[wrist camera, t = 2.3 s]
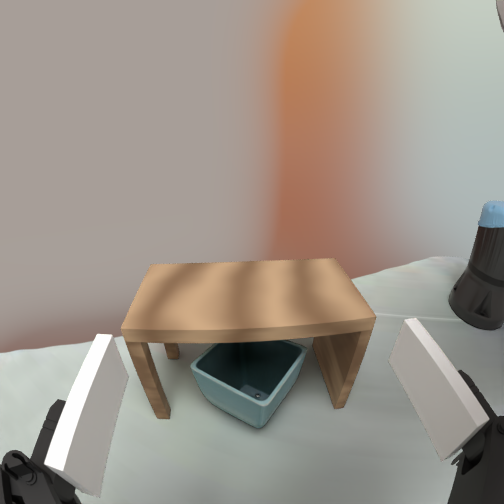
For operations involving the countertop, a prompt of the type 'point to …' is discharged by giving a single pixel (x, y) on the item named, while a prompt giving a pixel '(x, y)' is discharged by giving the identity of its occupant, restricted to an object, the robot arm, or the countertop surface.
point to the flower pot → (249, 376)
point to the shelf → (250, 315)
